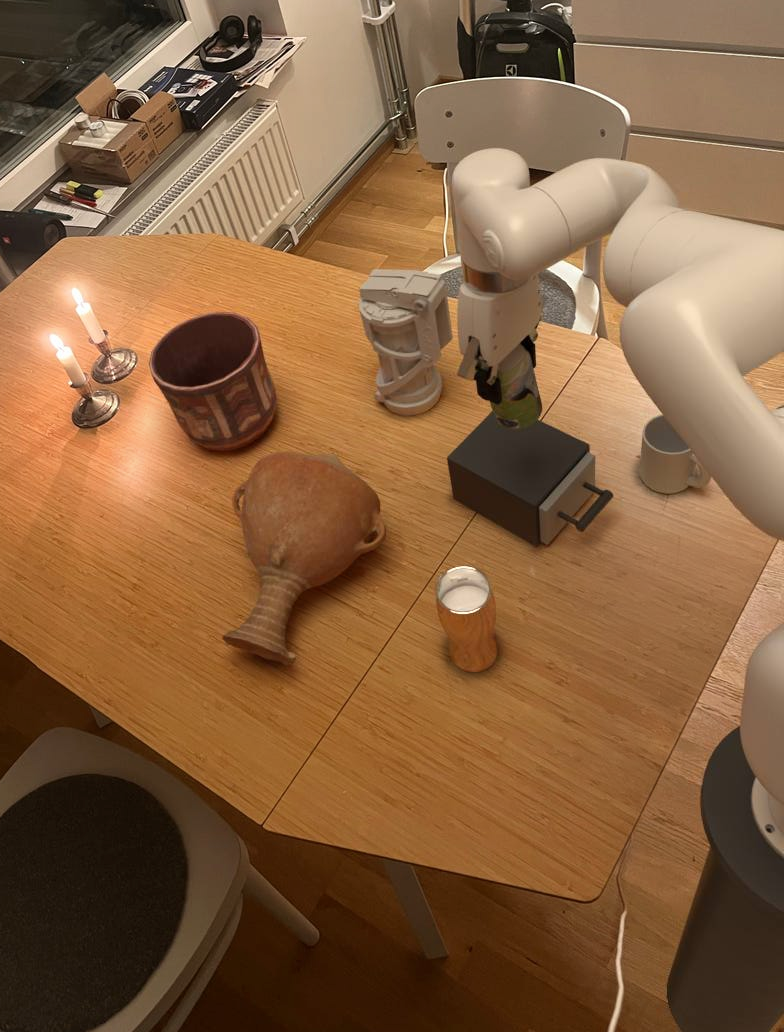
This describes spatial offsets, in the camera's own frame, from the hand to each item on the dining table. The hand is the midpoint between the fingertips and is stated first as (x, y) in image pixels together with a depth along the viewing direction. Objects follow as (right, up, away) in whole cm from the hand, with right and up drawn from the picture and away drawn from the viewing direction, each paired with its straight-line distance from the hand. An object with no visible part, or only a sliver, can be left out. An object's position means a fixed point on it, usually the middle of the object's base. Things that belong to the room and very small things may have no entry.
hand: (507, 380), depth 110 cm
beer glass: (-3, -35, +8) cm, 36 cm away
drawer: (+9, -16, +19) cm, 27 cm away
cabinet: (+7, -15, +22) cm, 28 cm away
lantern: (-6, 0, +40) cm, 40 cm away
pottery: (-36, -5, +44) cm, 58 cm away
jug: (-25, -28, +21) cm, 42 cm away
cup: (+28, -13, +18) cm, 36 cm away
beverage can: (+2, -5, +5) cm, 7 cm away
